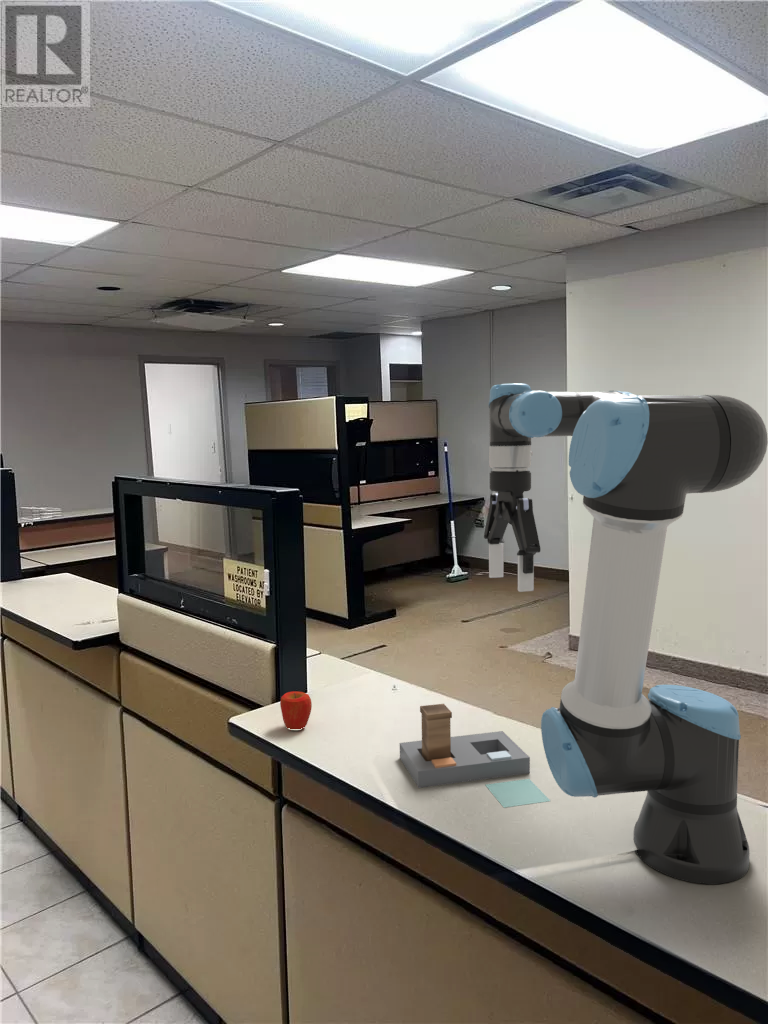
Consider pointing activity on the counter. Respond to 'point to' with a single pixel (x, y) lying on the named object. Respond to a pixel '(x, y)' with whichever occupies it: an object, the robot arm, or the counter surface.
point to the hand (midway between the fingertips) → (510, 584)
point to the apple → (295, 709)
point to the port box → (466, 760)
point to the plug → (436, 732)
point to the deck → (517, 793)
